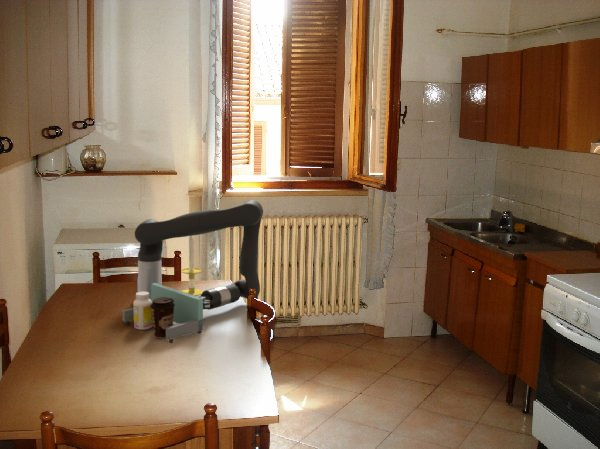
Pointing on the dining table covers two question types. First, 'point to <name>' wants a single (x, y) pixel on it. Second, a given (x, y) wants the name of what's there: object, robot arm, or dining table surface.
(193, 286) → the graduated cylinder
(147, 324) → the supplement bottle
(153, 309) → the coffee cup
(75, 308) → the dining table surface
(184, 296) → the teal panel stand
